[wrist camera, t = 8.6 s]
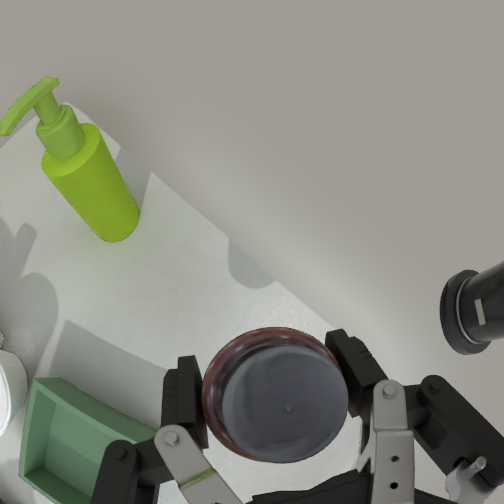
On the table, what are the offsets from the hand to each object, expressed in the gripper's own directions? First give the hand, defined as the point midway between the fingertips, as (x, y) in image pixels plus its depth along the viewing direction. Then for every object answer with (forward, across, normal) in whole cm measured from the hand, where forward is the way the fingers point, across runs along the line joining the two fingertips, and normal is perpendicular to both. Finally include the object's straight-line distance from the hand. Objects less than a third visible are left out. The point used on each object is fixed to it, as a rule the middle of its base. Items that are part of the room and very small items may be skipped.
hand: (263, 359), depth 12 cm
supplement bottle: (+4, 0, +6) cm, 7 cm away
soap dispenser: (+23, +13, -1) cm, 26 cm away
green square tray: (+4, +18, +18) cm, 26 cm away
